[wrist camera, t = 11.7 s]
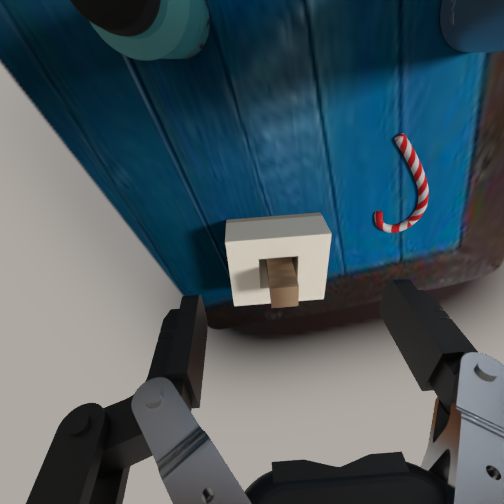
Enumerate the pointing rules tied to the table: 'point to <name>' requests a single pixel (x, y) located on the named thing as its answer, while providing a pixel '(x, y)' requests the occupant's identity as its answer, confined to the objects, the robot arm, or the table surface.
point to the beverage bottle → (149, 26)
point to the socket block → (277, 254)
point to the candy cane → (421, 184)
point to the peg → (282, 282)
